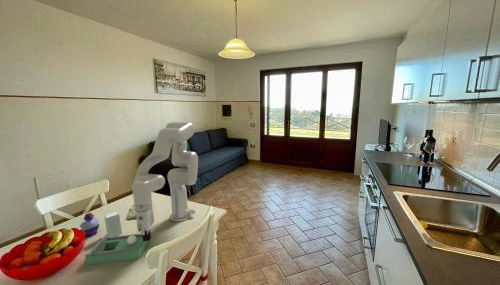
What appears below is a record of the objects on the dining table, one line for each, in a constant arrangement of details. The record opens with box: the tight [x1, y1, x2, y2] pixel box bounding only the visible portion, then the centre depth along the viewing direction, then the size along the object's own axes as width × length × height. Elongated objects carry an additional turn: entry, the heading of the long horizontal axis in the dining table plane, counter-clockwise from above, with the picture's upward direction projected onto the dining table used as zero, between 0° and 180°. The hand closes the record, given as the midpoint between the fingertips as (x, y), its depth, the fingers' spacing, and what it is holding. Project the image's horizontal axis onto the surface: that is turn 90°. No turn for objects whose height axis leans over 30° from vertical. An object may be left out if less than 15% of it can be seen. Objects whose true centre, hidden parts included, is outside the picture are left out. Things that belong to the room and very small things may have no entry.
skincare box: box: [104, 211, 123, 237], centre depth 113 cm, size 6×4×12 cm
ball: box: [127, 234, 136, 245], centre depth 100 cm, size 4×4×4 cm
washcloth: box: [127, 204, 137, 220], centre depth 138 cm, size 13×18×3 cm
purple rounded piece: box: [79, 212, 100, 238], centre depth 114 cm, size 9×9×12 cm
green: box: [84, 233, 149, 266], centre depth 99 cm, size 22×12×6 cm, turn 100°
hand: (147, 239), depth 101 cm, fingers closed
